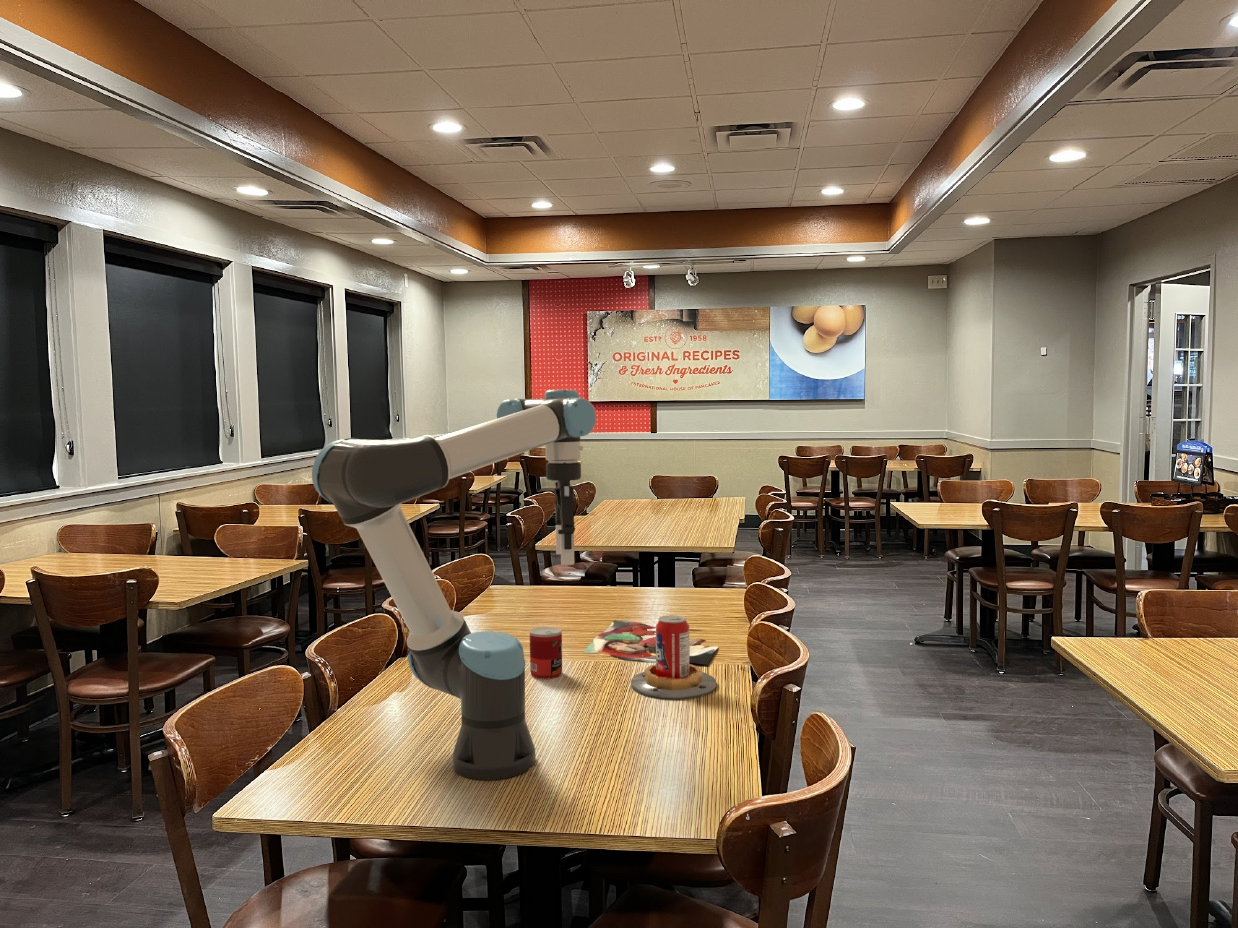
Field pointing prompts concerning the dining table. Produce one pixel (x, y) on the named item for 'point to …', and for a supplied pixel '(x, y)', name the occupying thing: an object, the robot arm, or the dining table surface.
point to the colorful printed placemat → (641, 644)
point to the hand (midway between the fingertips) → (564, 559)
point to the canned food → (546, 652)
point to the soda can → (672, 647)
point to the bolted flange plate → (673, 684)
